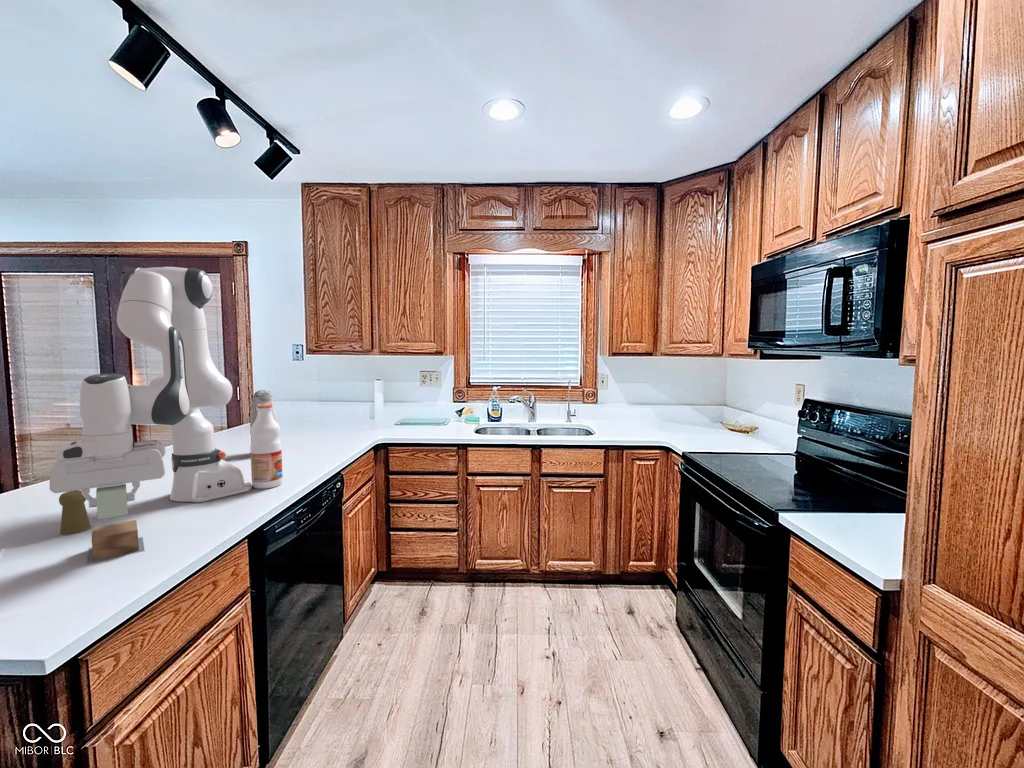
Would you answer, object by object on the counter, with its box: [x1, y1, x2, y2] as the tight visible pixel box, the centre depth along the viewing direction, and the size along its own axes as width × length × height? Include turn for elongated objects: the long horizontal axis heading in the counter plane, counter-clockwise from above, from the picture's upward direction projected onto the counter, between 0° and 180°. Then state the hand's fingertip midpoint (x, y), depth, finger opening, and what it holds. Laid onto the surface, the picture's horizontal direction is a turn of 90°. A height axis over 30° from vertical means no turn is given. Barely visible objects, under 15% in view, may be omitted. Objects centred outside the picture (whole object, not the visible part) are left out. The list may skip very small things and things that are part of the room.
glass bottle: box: [249, 389, 278, 443], centre depth 204 cm, size 10×10×28 cm
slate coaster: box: [86, 536, 145, 565], centre depth 111 cm, size 10×10×1 cm
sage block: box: [95, 483, 129, 520], centre depth 109 cm, size 5×7×6 cm
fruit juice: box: [249, 403, 284, 490], centre depth 161 cm, size 9×9×28 cm
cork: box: [58, 490, 92, 536], centre depth 121 cm, size 6×6×11 cm
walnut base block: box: [91, 519, 139, 561], centre depth 110 cm, size 8×8×5 cm
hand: (112, 503), depth 110 cm, fingers closed on sage block, 5 cm apart
